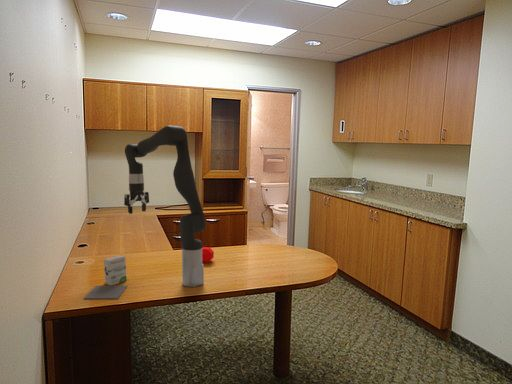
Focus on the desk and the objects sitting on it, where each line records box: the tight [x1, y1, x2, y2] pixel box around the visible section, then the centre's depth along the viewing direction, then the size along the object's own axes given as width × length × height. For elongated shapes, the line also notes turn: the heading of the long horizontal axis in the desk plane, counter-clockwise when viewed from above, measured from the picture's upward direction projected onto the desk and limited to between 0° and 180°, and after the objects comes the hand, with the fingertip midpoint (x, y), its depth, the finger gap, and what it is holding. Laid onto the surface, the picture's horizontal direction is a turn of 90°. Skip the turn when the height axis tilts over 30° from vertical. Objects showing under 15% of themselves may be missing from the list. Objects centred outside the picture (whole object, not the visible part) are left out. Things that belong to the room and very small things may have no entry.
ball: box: [202, 246, 215, 264], centre depth 204 cm, size 8×8×8 cm
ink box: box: [103, 254, 128, 286], centre depth 172 cm, size 9×5×12 cm, turn 141°
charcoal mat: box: [83, 285, 128, 300], centre depth 161 cm, size 14×14×1 cm
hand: (137, 212), depth 196 cm, fingers open, 8 cm apart
